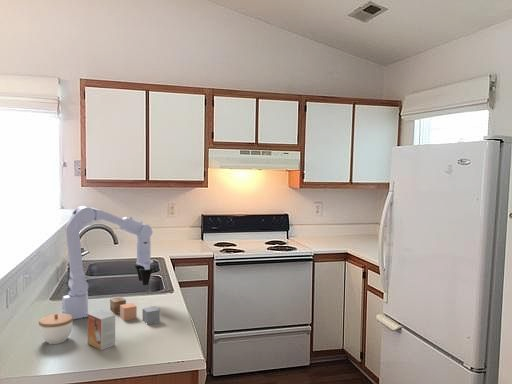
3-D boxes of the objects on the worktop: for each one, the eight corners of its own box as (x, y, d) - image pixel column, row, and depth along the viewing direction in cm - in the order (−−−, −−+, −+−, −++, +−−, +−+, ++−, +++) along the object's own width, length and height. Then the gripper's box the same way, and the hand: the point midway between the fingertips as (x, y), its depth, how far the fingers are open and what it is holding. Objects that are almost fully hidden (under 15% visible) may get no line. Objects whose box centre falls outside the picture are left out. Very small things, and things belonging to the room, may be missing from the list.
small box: (87, 344, 147) (87, 313, 147) (102, 339, 152) (102, 309, 151) (101, 350, 142) (100, 319, 142) (115, 345, 147) (115, 314, 146)
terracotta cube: (124, 321, 170) (123, 308, 170) (120, 317, 174) (119, 304, 174) (136, 318, 173) (136, 306, 172) (132, 314, 177) (132, 302, 176)
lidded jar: (64, 332, 158) (63, 306, 157) (79, 339, 151) (78, 313, 150) (33, 341, 149) (33, 314, 149) (48, 349, 143) (47, 321, 142)
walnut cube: (113, 314, 178) (113, 302, 177) (110, 310, 182) (110, 298, 181) (126, 311, 180) (125, 300, 180) (122, 308, 184) (122, 297, 184)
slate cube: (147, 325, 166) (147, 312, 166) (142, 321, 170) (142, 308, 170) (159, 322, 169) (159, 309, 168) (154, 318, 173) (154, 306, 172)
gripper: (157, 254, 183) (157, 285, 184) (149, 248, 196) (149, 277, 196) (140, 255, 180) (140, 287, 180) (133, 249, 193) (133, 279, 193)
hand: (143, 282), depth 188 cm, fingers open, 7 cm apart
